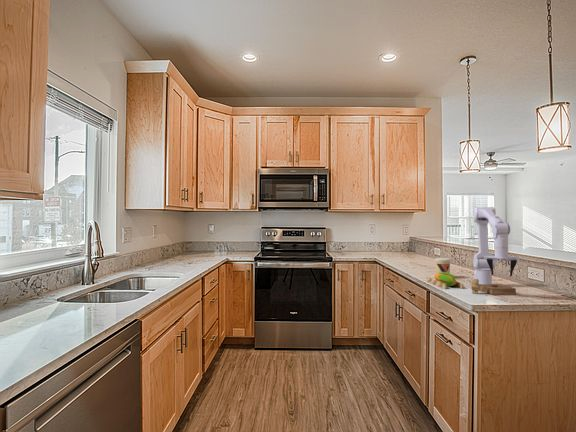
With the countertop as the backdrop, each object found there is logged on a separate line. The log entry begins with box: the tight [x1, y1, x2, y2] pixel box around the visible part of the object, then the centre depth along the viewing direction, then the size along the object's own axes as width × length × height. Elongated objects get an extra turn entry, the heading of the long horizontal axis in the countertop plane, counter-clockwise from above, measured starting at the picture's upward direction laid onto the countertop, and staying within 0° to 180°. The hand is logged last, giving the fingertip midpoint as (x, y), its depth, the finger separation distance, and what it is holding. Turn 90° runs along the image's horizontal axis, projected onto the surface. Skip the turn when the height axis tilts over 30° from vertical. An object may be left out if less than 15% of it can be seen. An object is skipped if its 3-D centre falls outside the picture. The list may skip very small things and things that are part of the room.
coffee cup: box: [434, 257, 451, 275], centre depth 219 cm, size 9×9×12 cm
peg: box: [470, 278, 480, 295], centre depth 173 cm, size 3×3×7 cm
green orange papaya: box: [434, 272, 458, 288], centre depth 196 cm, size 7×8×20 cm
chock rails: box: [426, 276, 464, 290], centre depth 196 cm, size 23×10×2 cm, turn 1°
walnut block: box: [478, 283, 517, 296], centre depth 175 cm, size 12×12×3 cm
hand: (501, 275), depth 167 cm, fingers open, 7 cm apart
